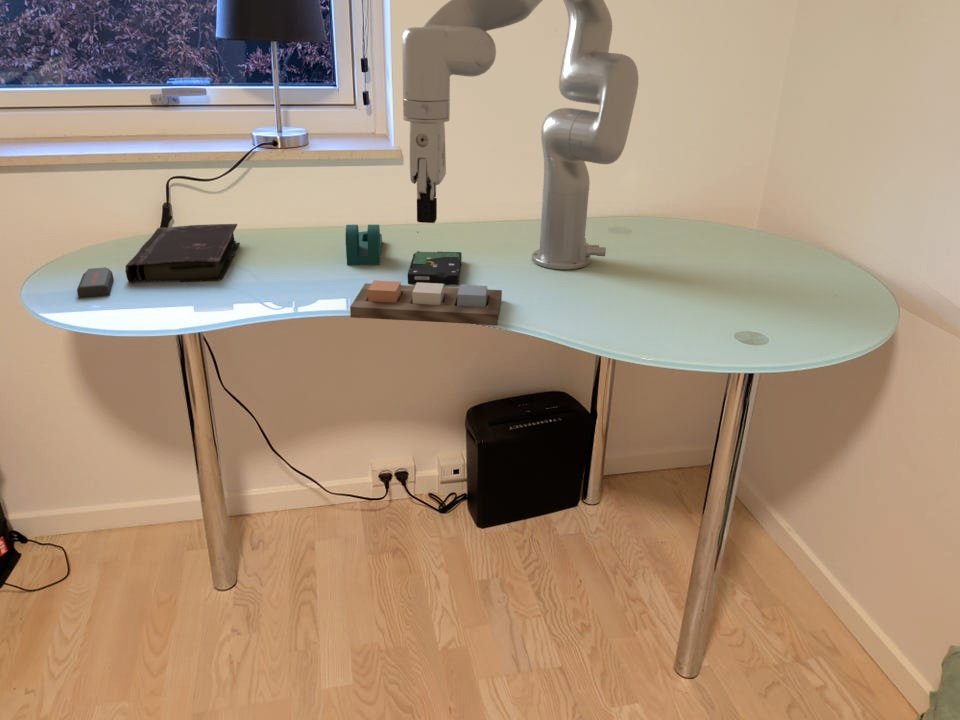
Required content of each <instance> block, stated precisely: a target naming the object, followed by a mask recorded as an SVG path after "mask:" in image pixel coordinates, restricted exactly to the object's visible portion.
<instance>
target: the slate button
mask: <svg viewBox="0 0 960 720" xmlns="http://www.w3.org/2000/svg"><path fill="white" fill-rule="evenodd" d="M458 288H459V290H458V293H457V306H468V307H487V305H486V304H487V289H488V285H479V284H478V285H477V284H475V285H474V284H473V285H472V284H459V287H458Z"/></svg>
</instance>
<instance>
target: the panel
mask: <svg viewBox="0 0 960 720" xmlns="http://www.w3.org/2000/svg"><path fill="white" fill-rule="evenodd" d="M371 284H372V283H368V282H367V283H364V284H363V286H362V287H361V289H360V291H359V293H358V294H357V296H356V297H355V299H354V300H353V302H352V303H351V305H350V307H349V310H350V311H349V312H350V313H349V315H350V318H355V319H371V320H373V319H376V320H390V321H391V320H392V321H393V320H394V321H410V322H411V321H413V322H414V321H415V322H433V323H447V324H448V323H449V324H450V323H451V324H466V325H467V324H469V325H487V326H488V325H489V326H498V325H499V318H500V313H501V305H502V301H503V298H502V295H503V293H502V292H503V290H501V289H489V288H487V304H486V307H468V306H457V293H458V290H459V287H445V286H444V300H443V303H442V305H429V304H413V298H412V292H413V290H414V288H415V285H409V284H408V285H407V284H406V285H405V284H401V298H400V300H399V302H398V303H390V302H371V301H368V289H369V287H370V286H371Z"/></svg>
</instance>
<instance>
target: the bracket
mask: <svg viewBox="0 0 960 720" xmlns="http://www.w3.org/2000/svg"><path fill="white" fill-rule="evenodd" d="M358 225H359V224H346V225H345V254H346V266H380V265H381V264H380V263H381V255H382V248H383V236H382V233H381V231H380V230H381V229H380V228H381V227H380V224H367V231H366V230H365V231H359V226H358Z"/></svg>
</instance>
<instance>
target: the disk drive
mask: <svg viewBox="0 0 960 720" xmlns="http://www.w3.org/2000/svg"><path fill="white" fill-rule="evenodd" d="M462 258H463V257H462V252H461V251H458V252H457V251H419V250H416V252H414V253H413V254H412V259H411V262H410V265H409V268H408V270H407V284H408V285H416V283H417V282H418V283H438V284H444V286H460V275H461V268H462Z"/></svg>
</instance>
